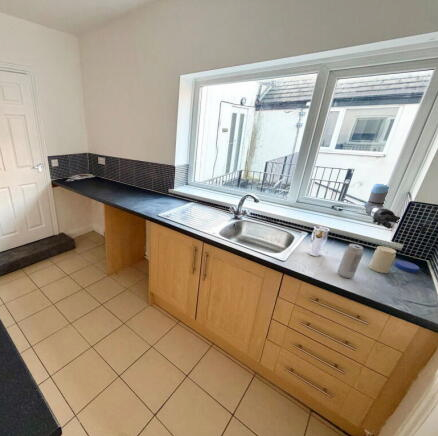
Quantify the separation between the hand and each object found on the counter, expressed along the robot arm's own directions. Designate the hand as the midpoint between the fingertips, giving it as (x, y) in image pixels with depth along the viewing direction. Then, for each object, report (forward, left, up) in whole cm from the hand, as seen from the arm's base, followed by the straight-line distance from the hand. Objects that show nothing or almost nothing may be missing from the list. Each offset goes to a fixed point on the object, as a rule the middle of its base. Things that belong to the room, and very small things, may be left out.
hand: (406, 227), depth 121 cm
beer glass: (+39, -2, -18) cm, 43 cm away
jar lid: (+2, +9, -16) cm, 19 cm away
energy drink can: (+36, +18, -18) cm, 44 cm away
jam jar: (+16, +11, -18) cm, 27 cm away
